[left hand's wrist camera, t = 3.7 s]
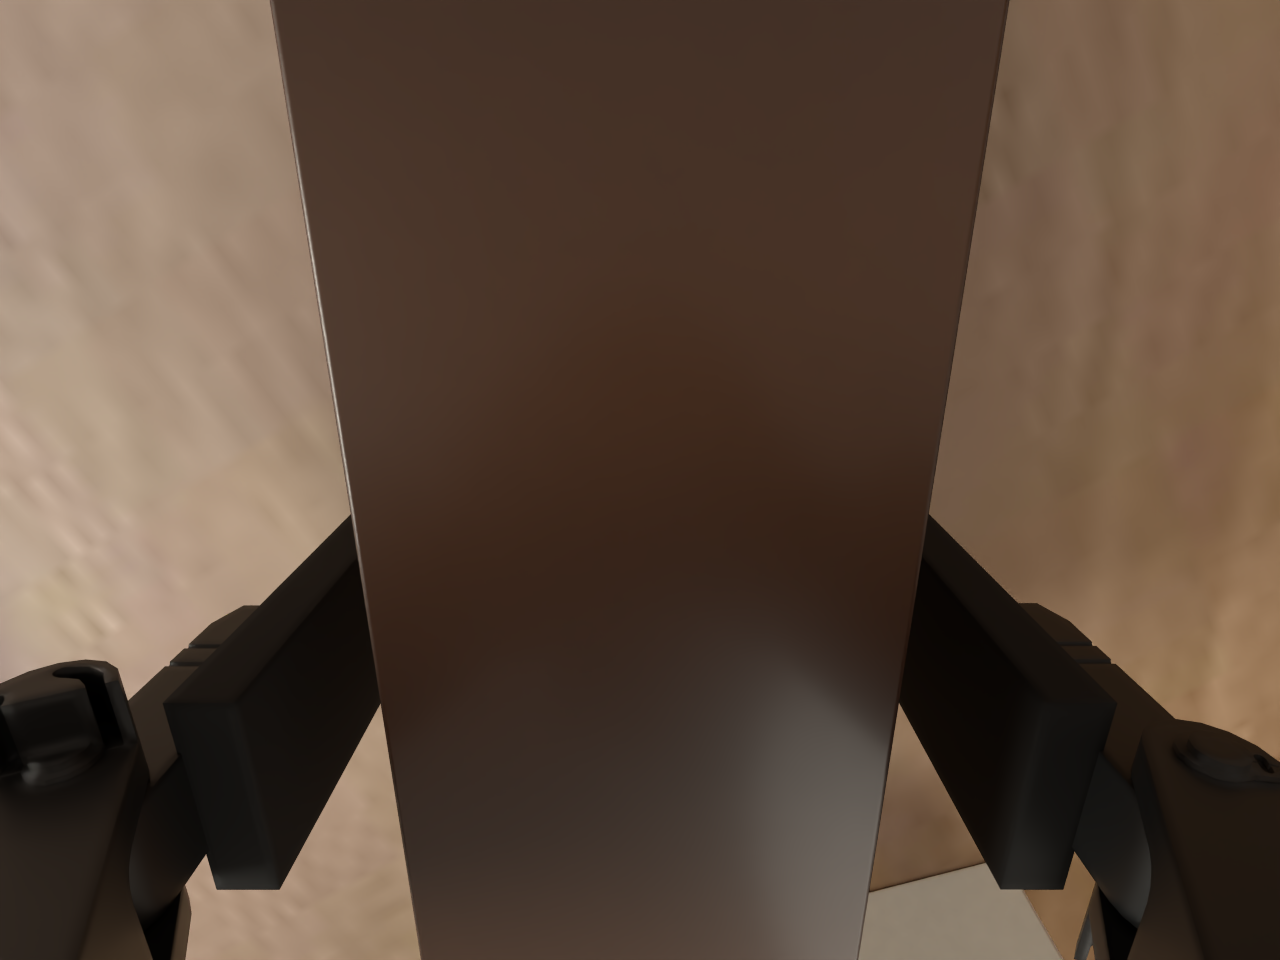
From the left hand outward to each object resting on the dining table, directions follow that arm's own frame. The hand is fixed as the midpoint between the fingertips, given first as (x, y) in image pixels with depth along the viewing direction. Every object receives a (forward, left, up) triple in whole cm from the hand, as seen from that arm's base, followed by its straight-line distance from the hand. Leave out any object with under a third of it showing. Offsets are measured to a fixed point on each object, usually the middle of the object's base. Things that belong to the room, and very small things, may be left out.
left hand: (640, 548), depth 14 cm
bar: (+9, 0, -1) cm, 10 cm away
